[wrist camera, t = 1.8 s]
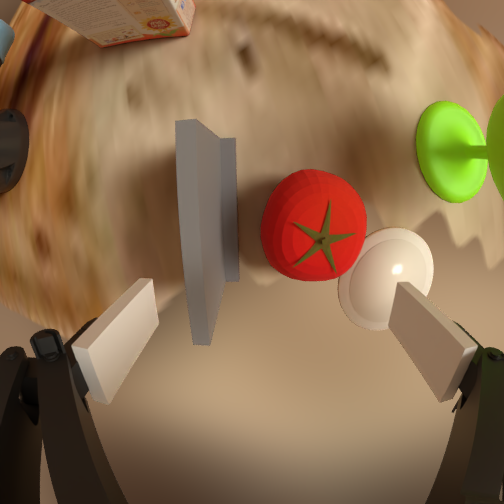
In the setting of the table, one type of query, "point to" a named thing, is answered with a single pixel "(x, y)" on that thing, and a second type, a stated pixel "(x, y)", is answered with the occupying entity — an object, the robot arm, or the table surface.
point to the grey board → (206, 221)
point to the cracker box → (121, 18)
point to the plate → (384, 275)
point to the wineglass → (459, 150)
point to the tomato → (313, 226)
